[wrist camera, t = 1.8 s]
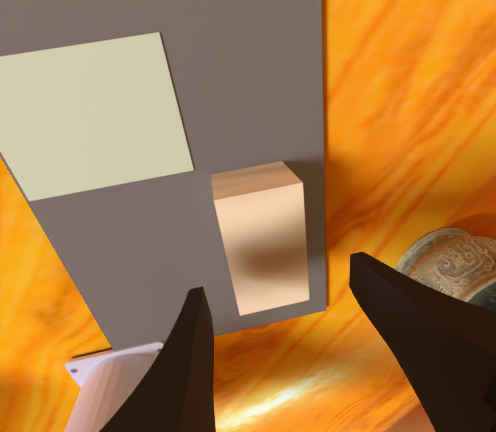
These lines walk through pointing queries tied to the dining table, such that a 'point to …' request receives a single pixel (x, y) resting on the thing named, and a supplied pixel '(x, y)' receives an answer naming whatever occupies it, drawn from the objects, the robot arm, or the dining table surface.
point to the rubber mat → (159, 143)
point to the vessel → (454, 265)
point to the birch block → (263, 235)
